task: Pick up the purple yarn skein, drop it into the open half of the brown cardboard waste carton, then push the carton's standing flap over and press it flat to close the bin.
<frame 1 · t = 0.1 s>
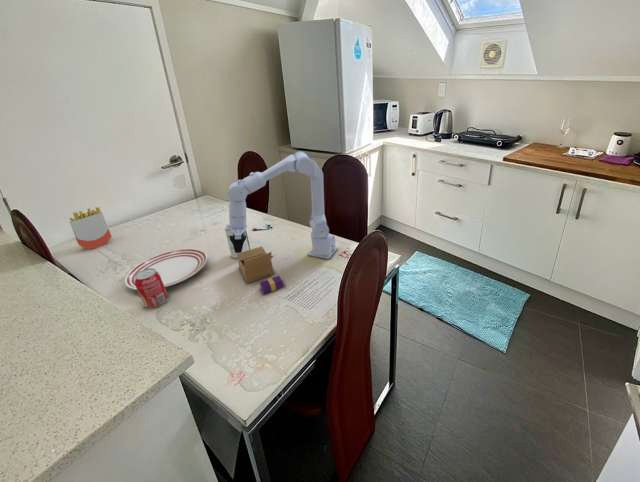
hand: (238, 247, 119), 10 cm above the table, tool pointing down, fingers open, 7 cm apart
syrup box: (241, 255, 133), on the table
bin: (256, 270, 122), on the table
dinner plate: (170, 273, 122), on the table
soda can: (156, 302, 107), on the table
purple yarn skein: (272, 287, 113), on the table
french fries container: (97, 245, 142), on the table
bin flap: (257, 260, 113), point 9 cm above the table, hinge at 120.0°
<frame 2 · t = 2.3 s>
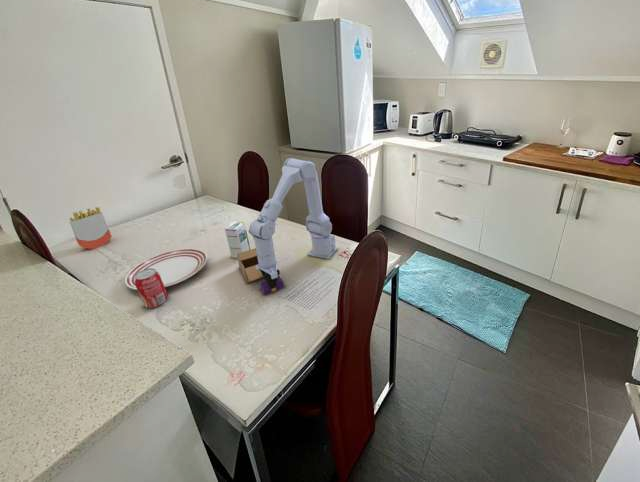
hand: (271, 284, 112), 2 cm above the table, tool pointing down, fingers closed on purple yarn skein, 3 cm apart
purple yarn skein: (272, 288, 113), on the table, touching gripper
bin flap: (260, 270, 114), point 5 cm above the table, hinge at 203.9°, touching gripper
everything else where it was.
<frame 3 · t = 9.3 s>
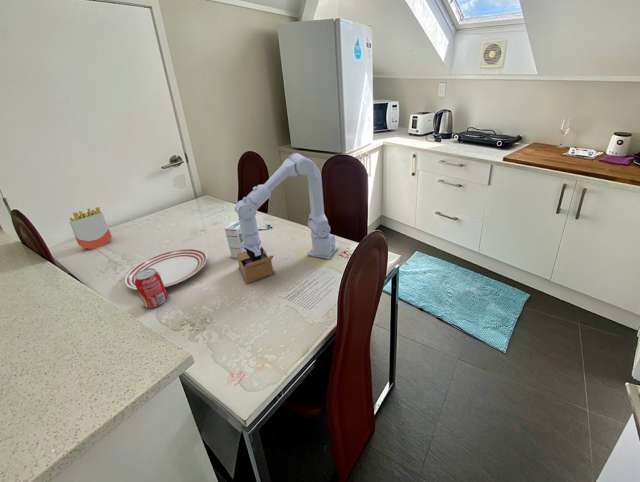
hand: (256, 263, 118), 5 cm above the table, tool pointing down, fingers closed on purple yarn skein, 3 cm apart
purple yarn skein: (257, 266, 119), point 4 cm above the table, touching gripper
bin flap: (258, 262, 113), point 8 cm above the table, hinge at 136.1°
everything else where it was.
when the fingers open (8 cm above the table, at t = 18.1 s): purple yarn skein drops 6 cm, resting on bin.
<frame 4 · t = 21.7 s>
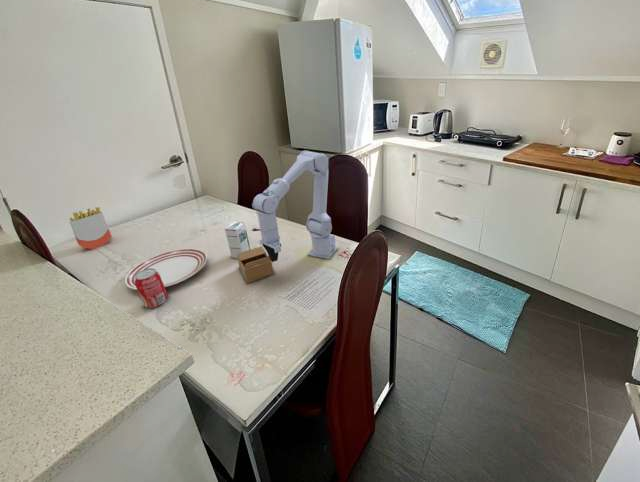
hand: (274, 260, 113), 9 cm above the table, tool pointing down, fingers closed
purple yarn skein: (259, 273, 120), resting on bin
bin flap: (258, 261, 113), point 9 cm above the table, hinge at 133.0°, touching gripper
everything else where it was.
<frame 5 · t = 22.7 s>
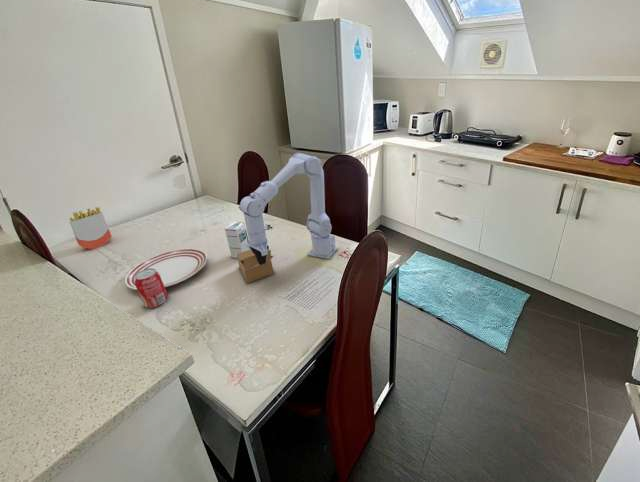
hand: (262, 263, 112), 9 cm above the table, tool pointing down, fingers closed
bin flap: (257, 259, 114), point 9 cm above the table, hinge at 110.4°, touching gripper
everything else where it was.
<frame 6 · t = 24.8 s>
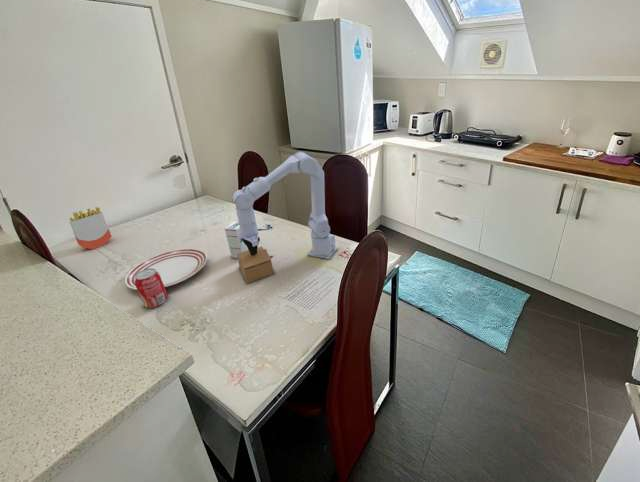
hand: (253, 254, 118), 9 cm above the table, tool pointing down, fingers closed
bin flap: (255, 258, 117), point 8 cm above the table, hinge at 21.9°, touching gripper
everything else where it was.
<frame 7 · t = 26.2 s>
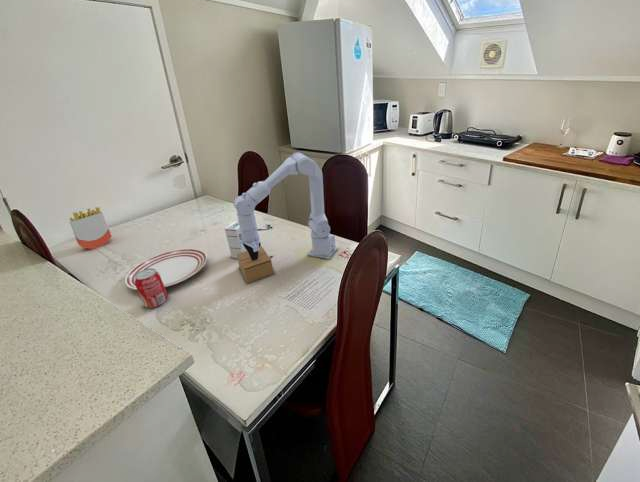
hand: (254, 259, 119), 6 cm above the table, tool pointing down, fingers closed, pressing on bin flap
bin flap: (255, 260, 118), point 6 cm above the table, hinge at -1.4°, touching gripper
everything else where it was.
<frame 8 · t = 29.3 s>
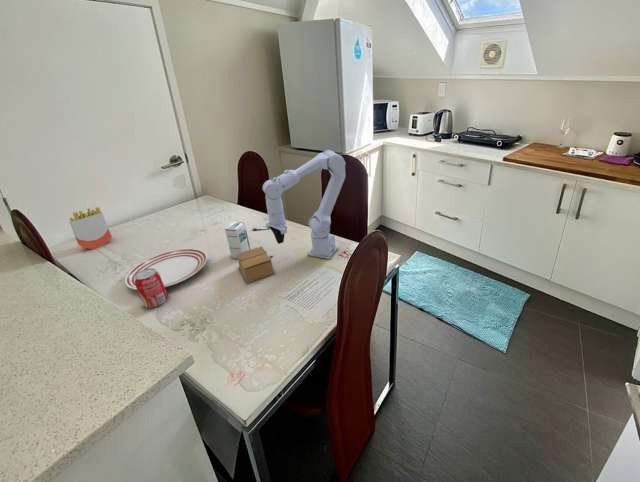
hand: (280, 242, 123), 10 cm above the table, tool pointing down, fingers closed
bin flap: (255, 260, 118), point 6 cm above the table, hinge at -1.4°
everything else where it was.
at the end: purple yarn skein inside the target area in the bin (2.8 cm from its centre), point 0.4 cm above the bin's base; bin flap at -1° (first picture: +120°); the gripper is holding nothing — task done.
